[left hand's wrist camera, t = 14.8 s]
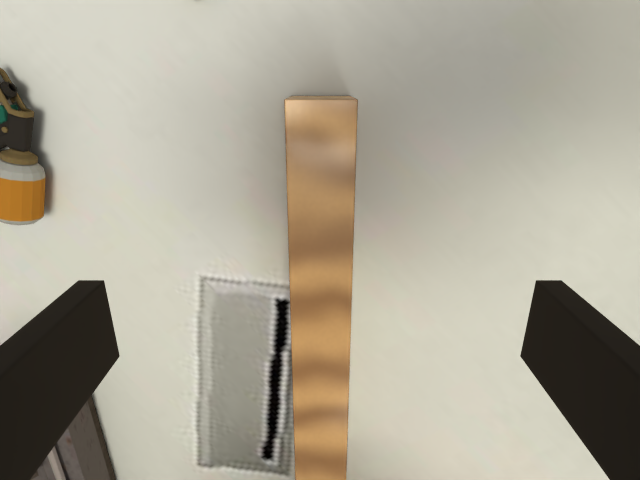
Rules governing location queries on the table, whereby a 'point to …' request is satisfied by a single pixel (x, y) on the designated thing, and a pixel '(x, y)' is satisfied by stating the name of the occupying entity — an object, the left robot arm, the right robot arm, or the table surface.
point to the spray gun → (18, 161)
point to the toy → (78, 451)
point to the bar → (320, 276)
